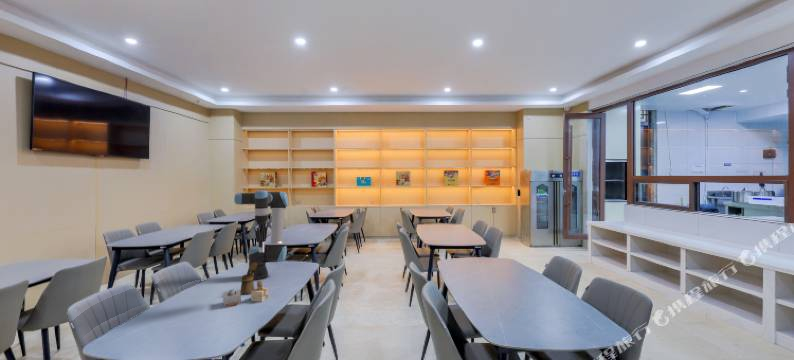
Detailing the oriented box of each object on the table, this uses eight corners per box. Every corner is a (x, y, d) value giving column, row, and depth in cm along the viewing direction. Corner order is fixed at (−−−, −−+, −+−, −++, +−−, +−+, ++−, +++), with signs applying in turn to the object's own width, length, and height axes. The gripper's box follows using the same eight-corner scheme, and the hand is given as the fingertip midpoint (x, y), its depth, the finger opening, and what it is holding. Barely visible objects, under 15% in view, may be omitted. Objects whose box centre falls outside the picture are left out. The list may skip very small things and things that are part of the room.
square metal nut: (223, 299, 184) (223, 292, 184) (240, 296, 189) (240, 289, 189) (223, 304, 176) (223, 297, 176) (240, 301, 181) (240, 294, 181)
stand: (257, 296, 193) (257, 279, 193) (268, 297, 192) (268, 279, 192) (251, 301, 186) (251, 283, 186) (262, 301, 185) (262, 283, 185)
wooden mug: (262, 287, 208) (261, 261, 208) (249, 295, 195) (248, 267, 195) (250, 287, 210) (250, 261, 210) (236, 294, 197) (236, 266, 196)
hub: (230, 300, 186) (230, 287, 186) (241, 301, 186) (241, 288, 186) (222, 305, 179) (222, 292, 179) (233, 306, 179) (233, 292, 178)
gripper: (261, 213, 199) (261, 249, 200) (249, 216, 186) (249, 254, 187) (272, 213, 199) (272, 249, 199) (261, 216, 186) (261, 254, 186)
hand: (261, 252), depth 193 cm, fingers closed
